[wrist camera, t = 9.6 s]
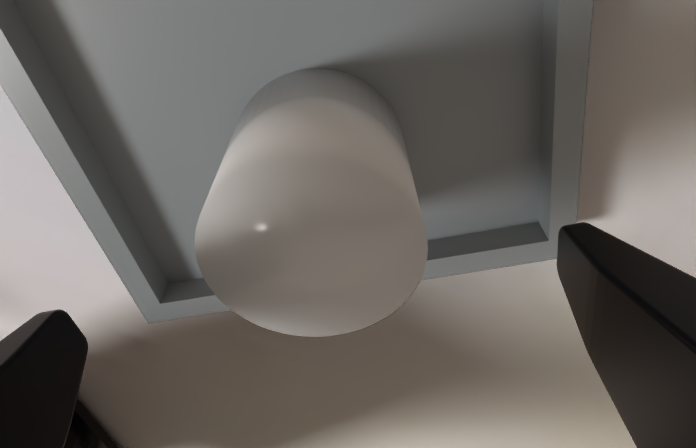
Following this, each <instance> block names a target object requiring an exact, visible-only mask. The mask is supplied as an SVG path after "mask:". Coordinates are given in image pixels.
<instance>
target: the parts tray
mask: <svg viewBox="0 0 696 448" xmlns="http://www.w3.org/2000/svg"><path fill="white" fill-rule="evenodd" d="M592 11H593V0H0V85H1V86H2V88H3V90H4V91H5V93H6V95H7V96H8V98H9V99H10V101H11V103H12V104H13V106H14V107H15V109H16V111H17V112H18V114H19V116H20V117H21V119H22V120H23V122H24V124H25V125H26V127H27V128H28V130H29V132H30V133H31V135H32V137H33V138H34V140H35V141H36V143H37V145H38V146H39V148H40V149H41V151H42V153H43V154H44V156H45V158H46V159H47V161H48V162H49V164H50V166H51V167H52V169H53V170H54V172H55V174H56V175H57V177H58V179H59V180H60V182H61V183H62V185H63V187H64V188H65V190H66V191H67V193H68V195H69V196H70V198H71V200H72V201H73V203H74V204H75V206H76V208H77V209H78V211H79V212H80V214H81V216H82V217H83V219H84V221H85V222H86V224H87V225H88V227H89V229H90V230H91V232H92V233H93V235H94V237H95V238H96V240H97V242H98V243H99V245H100V246H101V248H102V250H103V251H104V253H105V254H106V256H107V258H108V259H109V261H110V263H111V264H112V266H113V267H114V269H115V271H116V272H117V274H118V275H119V277H120V279H121V280H122V282H123V284H124V285H125V287H126V288H127V290H128V292H129V293H130V295H131V296H132V298H133V300H134V301H135V303H136V305H137V306H138V308H139V309H140V311H141V313H142V314H143V316H144V317H145V319H146V321H147V322H148V323H154V322H161V321H167V320H173V319H180V318H186V317H192V316H199V315H205V314H211V313H218V312H224V311H230V310H231V309H229V308H228V307H227V306H226V305H225V304H224V303H223V302H222V301H221V300H220V299H219V298H217V297H216V295H215V294H214V293H213V291H212V290H211V289H210V288H209V286H208V285H207V283H206V281H205V279H204V278H203V276H202V274H201V271H200V269H199V266H198V263H197V259H196V254H195V242H194V240H195V231H196V226H197V223H198V219H199V216H200V213H201V211H202V208H203V206H204V204H205V201H206V199H207V196H208V194H209V191H210V189H211V187H212V184H213V182H214V179H215V177H216V174H217V172H218V170H219V167H220V165H221V162H222V160H223V157H224V155H225V152H226V150H227V148H228V145H229V143H230V140H231V138H232V135H233V133H234V131H235V128H236V126H237V123H238V121H239V118H240V116H241V114H242V112H243V110H244V108H245V106H246V105H247V104H248V102H249V101H250V99H251V98H252V97H253V96H254V95H255V94H256V93H257V92H258V91H259V90H260V89H261V88H262V87H264V86H265V85H266V84H268V83H269V82H271V81H273V80H274V79H276V78H278V77H280V76H283V75H285V74H287V73H291V72H295V71H298V70H305V69H329V70H336V71H340V72H343V73H347V74H349V75H352V76H354V77H357V78H359V79H361V80H362V81H364V82H366V83H368V84H369V85H370V86H372V87H373V88H374V89H376V90H377V91H378V92H379V93H380V94H381V95H382V96H383V97H384V98H385V99H386V101H387V102H388V103H389V105H390V106H391V107H392V109H393V111H394V113H395V114H396V116H397V119H398V121H399V124H400V127H401V131H402V135H403V139H404V143H405V147H406V151H407V156H408V160H409V164H410V168H411V172H412V176H413V180H414V185H415V189H416V193H417V197H418V201H419V205H420V209H421V214H422V218H423V222H424V226H425V230H426V235H427V243H428V254H427V262H426V266H425V269H424V273H423V275H422V277H421V280H426V279H432V278H438V277H445V276H451V275H457V274H463V273H470V272H476V271H482V270H489V269H495V268H501V267H508V266H514V265H520V264H527V263H533V262H539V261H545V260H552V259H557V250H558V233H559V230H560V228H561V227H562V226H564V225H570V224H576V218H577V205H578V192H579V179H580V166H581V153H582V141H583V128H584V115H585V102H586V89H587V76H588V63H589V50H590V37H591V24H592Z"/></svg>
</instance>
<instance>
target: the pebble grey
mask: <svg viewBox="0 0 696 448" xmlns="http://www.w3.org/2000/svg"><path fill="white" fill-rule="evenodd" d="M194 242H195V254H196V259H197V263H198V266H199V269H200V271H201V274H202V276H203V278H204V279H205V281H206V283H207V285H208V286H209V288H210V289H211V290H212V291H213V293H214V294H215V295H216V297H217V298H219V299H220V300H221V301H222V302H223V303H224V304H225V305H226V306H227V307H228V308H229V309H231V310H232V311H233V312H235V313H236V314H238V315H239V316H241V317H243V318H244V319H246V320H248V321H250V322H252V323H254V324H256V325H258V326H261V327H263V328H266V329H269V330H272V331H276V332H279V333H283V334H289V335H295V336H306V337H325V336H335V335H341V334H346V333H350V332H354V331H357V330H360V329H363V328H366V327H368V326H370V325H373V324H375V323H377V322H379V321H380V320H382V319H384V318H386V317H387V316H389V315H390V314H392V313H393V312H394V311H396V310H397V309H398V308H399V307H400V306H401V305H402V304H404V303H405V301H406V300H407V299H408V298H409V297H410V296H411V294H412V293H413V292H414V290H415V289H416V287H417V285H418V284H419V282H420V280H421V277H422V275H423V273H424V269H425V266H426V262H427V254H428V243H427V235H426V230H425V226H424V222H423V218H422V214H421V209H420V205H419V201H418V197H417V193H416V189H415V185H414V180H413V176H412V172H411V168H410V164H409V160H408V156H407V151H406V147H405V143H404V139H403V135H402V131H401V127H400V124H399V121H398V119H397V116H396V114H395V113H394V111H393V109H392V107H391V106H390V105H389V103H388V102H387V101H386V99H385V98H384V97H383V96H382V95H381V94H380V93H379V92H378V91H377V90H376V89H374V88H373V87H372V86H370V85H369V84H368V83H366V82H364V81H362V80H361V79H359V78H357V77H354V76H352V75H349V74H347V73H343V72H340V71H336V70H329V69H305V70H298V71H295V72H291V73H287V74H285V75H283V76H280V77H278V78H276V79H274V80H273V81H271V82H269V83H268V84H266V85H265V86H264V87H262V88H261V89H260V90H259V91H258V92H257V93H256V94H255V95H254V96H253V97H252V98H251V99H250V101H249V102H248V104H247V105H246V106H245V108H244V110H243V112H242V114H241V116H240V118H239V121H238V123H237V126H236V128H235V131H234V133H233V135H232V138H231V140H230V143H229V145H228V148H227V150H226V152H225V155H224V157H223V160H222V162H221V165H220V167H219V170H218V172H217V174H216V177H215V179H214V182H213V184H212V187H211V189H210V191H209V194H208V196H207V199H206V201H205V204H204V206H203V208H202V211H201V213H200V216H199V219H198V223H197V226H196V231H195V240H194Z"/></svg>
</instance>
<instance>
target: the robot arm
mask: <svg viewBox="0 0 696 448" xmlns="http://www.w3.org/2000/svg"><path fill="white" fill-rule="evenodd" d="M557 270H558V274H559V278H560V280H561V283H562V286H563V288H564V291H565V294H566V296H567V299H568V302H569V304H570V307H571V310H572V312H573V315H574V318H575V320H576V323H577V326H578V328H579V331H580V333H581V336H582V339H583V341H584V344H585V346H586V349H587V351H588V354H589V356H590V358H591V360H592V362H593V364H594V366H595V368H596V370H597V372H598V374H599V376H600V378H601V380H602V382H603V383H604V385H605V387H606V389H607V391H608V393H609V395H610V397H611V399H612V401H613V403H614V405H615V406H616V408H617V410H618V412H619V414H620V416H621V418H622V420H623V422H624V424H625V426H626V428H627V429H628V431H629V433H630V435H631V437H632V439H633V441H634V443H635V445H636V447H637V448H696V278H695V277H693V276H691V275H689V274H687V273H685V272H683V271H681V270H679V269H677V268H675V267H673V266H671V265H669V264H667V263H665V262H663V261H661V260H659V259H657V258H655V257H653V256H651V255H650V254H648V253H646V252H644V251H642V250H640V249H638V248H636V247H634V246H632V245H630V244H628V243H626V242H624V241H622V240H620V239H618V238H616V237H614V236H612V235H610V234H608V233H606V232H604V231H603V230H601V229H599V228H597V227H595V226H593V225H591V224H588V223H585V222H582V223H576V224H570V225H564V226H562V227H561V228H560V230H559V233H558V250H557ZM87 352H88V344H87V340H86V338H85V336H84V335H83V333H82V332H81V331H80V329H79V328H78V327H77V325H76V324H75V323H74V321H73V320H72V319H71V317H70V316H69V315H68V313H67V312H65V311H63V310H53V311H47V312H42V313H39V314H37V315H35V316H34V317H33V318H31V319H30V320H29V321H27V322H26V323H24V324H23V325H22V326H20V327H19V328H18V329H16V330H15V331H14V332H12V333H11V334H9V335H8V336H7V337H5V338H4V339H3V340H1V341H0V448H118V447H117V445H116V444H115V443H114V442H113V441H112V440H111V438H110V437H109V436H108V435H107V434H106V432H105V431H104V430H103V429H102V428H101V426H100V425H99V424H98V423H97V422H96V421H95V419H94V418H93V417H92V416H91V415H90V413H89V412H88V411H87V410H86V409H85V407H84V406H83V405H82V404H81V403H80V402H79V400H78V399H77V396H78V391H79V387H80V383H81V378H82V374H83V369H84V365H85V361H86V356H87Z"/></svg>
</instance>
